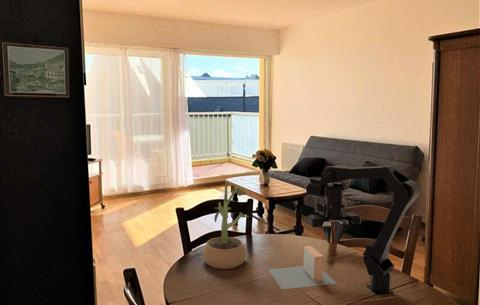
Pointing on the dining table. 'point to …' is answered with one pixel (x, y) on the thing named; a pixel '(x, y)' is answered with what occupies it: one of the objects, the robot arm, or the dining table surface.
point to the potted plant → (225, 240)
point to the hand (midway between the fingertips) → (332, 242)
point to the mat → (297, 278)
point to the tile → (313, 263)
